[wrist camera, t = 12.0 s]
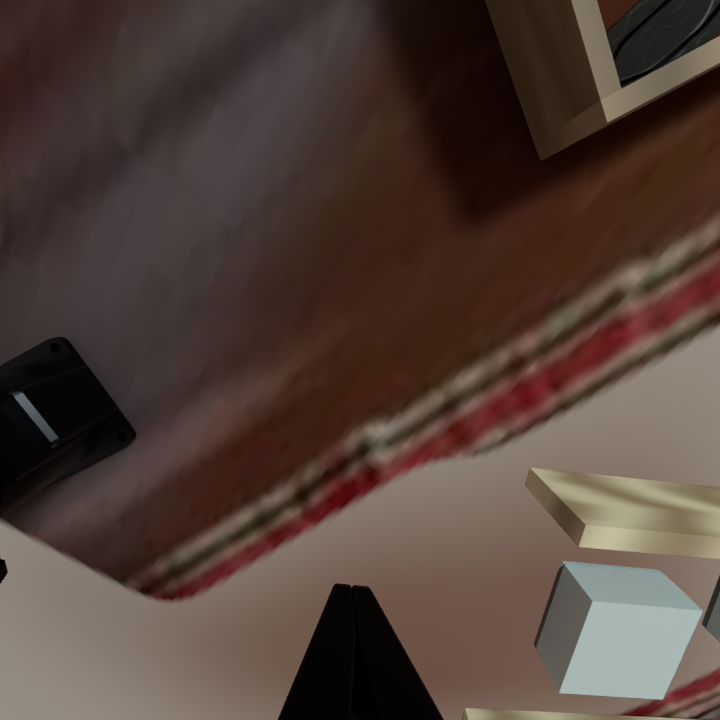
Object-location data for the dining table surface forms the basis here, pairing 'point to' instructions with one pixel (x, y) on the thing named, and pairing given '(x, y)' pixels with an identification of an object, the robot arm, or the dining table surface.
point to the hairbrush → (661, 34)
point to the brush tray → (577, 69)
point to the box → (622, 534)
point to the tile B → (713, 613)
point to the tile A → (614, 630)
